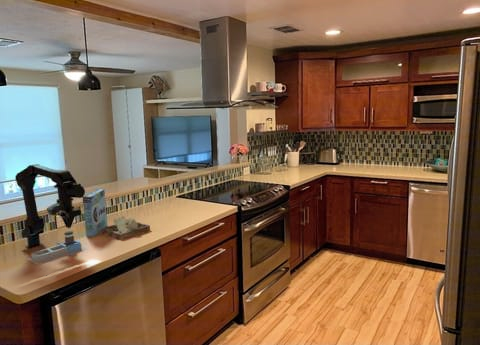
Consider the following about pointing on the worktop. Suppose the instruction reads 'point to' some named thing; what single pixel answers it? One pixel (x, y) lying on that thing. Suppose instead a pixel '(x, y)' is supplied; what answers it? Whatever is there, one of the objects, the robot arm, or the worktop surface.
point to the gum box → (95, 212)
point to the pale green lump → (125, 224)
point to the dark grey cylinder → (69, 237)
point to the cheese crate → (111, 232)
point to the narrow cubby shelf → (55, 252)
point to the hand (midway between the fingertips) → (68, 227)
